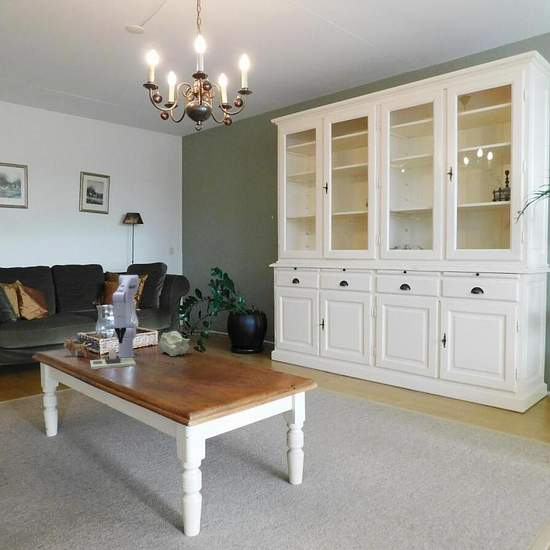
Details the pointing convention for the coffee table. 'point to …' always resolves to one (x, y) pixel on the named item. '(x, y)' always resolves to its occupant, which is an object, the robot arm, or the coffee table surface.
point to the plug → (112, 353)
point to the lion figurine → (75, 347)
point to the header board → (112, 362)
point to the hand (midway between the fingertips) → (120, 343)
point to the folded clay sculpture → (173, 343)
